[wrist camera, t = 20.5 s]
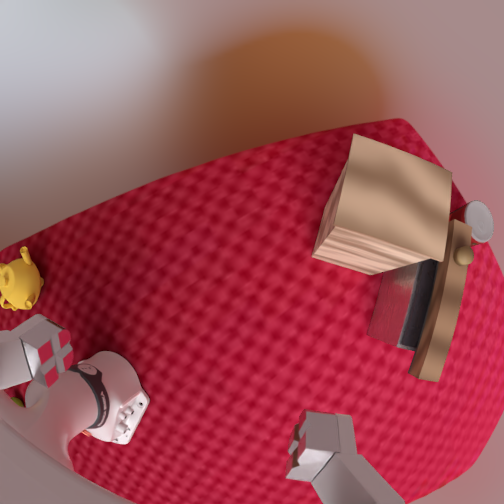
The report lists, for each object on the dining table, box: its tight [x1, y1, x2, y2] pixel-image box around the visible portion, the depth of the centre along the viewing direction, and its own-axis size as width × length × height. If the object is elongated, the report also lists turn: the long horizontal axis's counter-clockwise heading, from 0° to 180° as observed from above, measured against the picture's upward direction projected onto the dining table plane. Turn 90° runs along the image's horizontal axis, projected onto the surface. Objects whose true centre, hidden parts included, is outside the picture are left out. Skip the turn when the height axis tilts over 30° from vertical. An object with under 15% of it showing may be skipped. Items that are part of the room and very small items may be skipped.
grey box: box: [367, 258, 438, 351], centre depth 43 cm, size 16×9×16 cm, turn 162°
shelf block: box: [312, 134, 452, 275], centre depth 41 cm, size 11×13×26 cm
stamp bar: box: [408, 219, 474, 382], centre depth 32 cm, size 22×4×6 cm, turn 162°
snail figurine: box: [11, 397, 24, 407], centre depth 48 cm, size 5×6×12 cm
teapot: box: [0, 246, 44, 311], centre depth 53 cm, size 14×14×11 cm
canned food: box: [449, 200, 494, 247], centre depth 46 cm, size 8×8×11 cm
